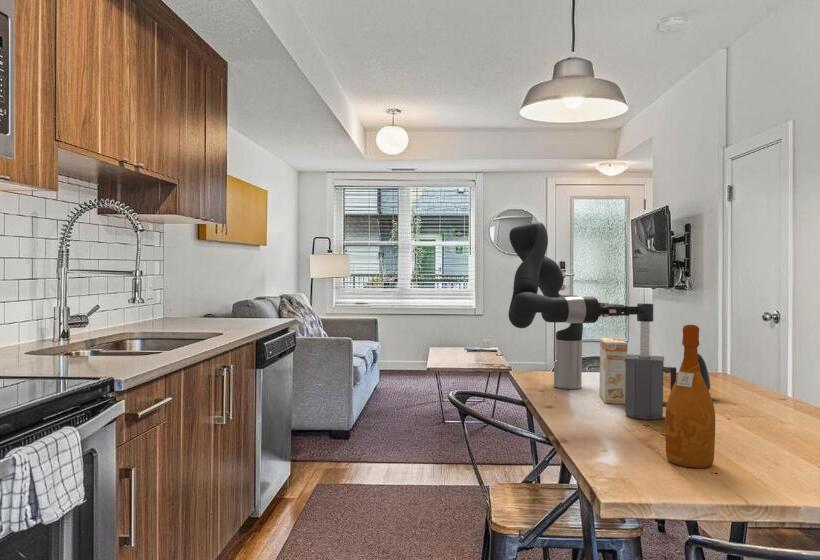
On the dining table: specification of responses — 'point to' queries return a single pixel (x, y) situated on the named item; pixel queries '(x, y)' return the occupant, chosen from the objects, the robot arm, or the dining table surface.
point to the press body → (645, 386)
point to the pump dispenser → (703, 371)
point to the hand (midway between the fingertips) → (631, 309)
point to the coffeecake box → (612, 370)
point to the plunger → (645, 327)
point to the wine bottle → (690, 411)
